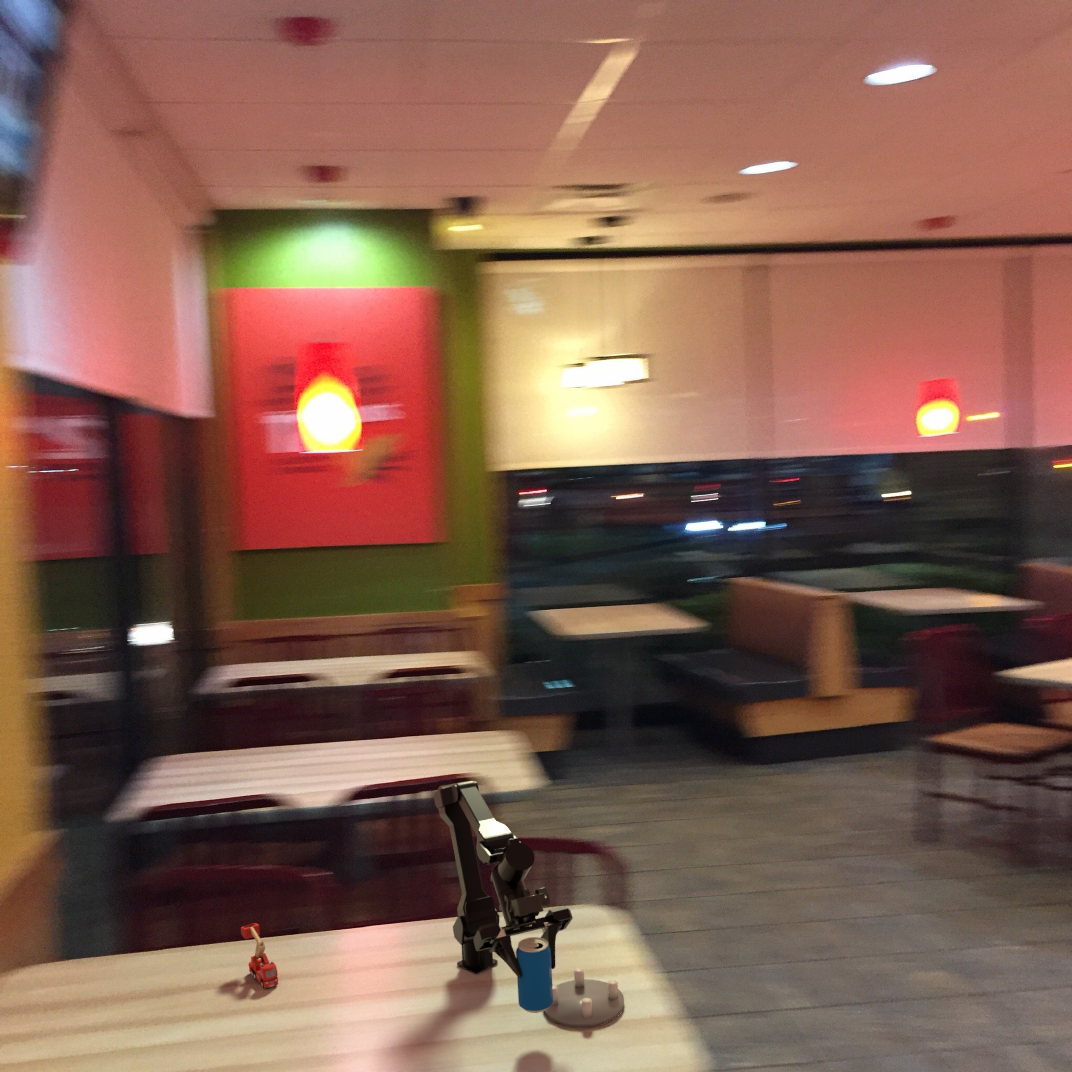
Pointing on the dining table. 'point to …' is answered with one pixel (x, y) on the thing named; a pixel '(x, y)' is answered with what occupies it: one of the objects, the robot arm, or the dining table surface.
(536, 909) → the robot arm
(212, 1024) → the dining table surface
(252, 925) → the toy fire truck
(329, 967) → the dining table surface
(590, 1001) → the peg stand
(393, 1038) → the dining table surface
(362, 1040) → the dining table surface
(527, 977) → the beverage can
